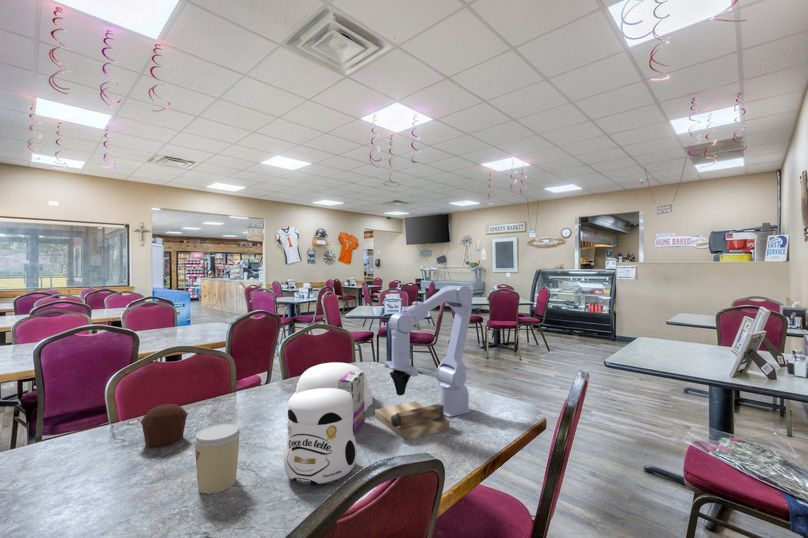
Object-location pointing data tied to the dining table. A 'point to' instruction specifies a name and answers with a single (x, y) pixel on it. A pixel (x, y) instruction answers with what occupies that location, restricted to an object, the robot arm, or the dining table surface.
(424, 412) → the stool leg
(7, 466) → the dining table surface
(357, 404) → the candy bar box
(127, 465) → the dining table surface
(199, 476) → the coffee cup
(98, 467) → the dining table surface
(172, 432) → the muffin
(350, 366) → the dome cover
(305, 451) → the doce de leite jar
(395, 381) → the robot arm
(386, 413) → the stool seat
